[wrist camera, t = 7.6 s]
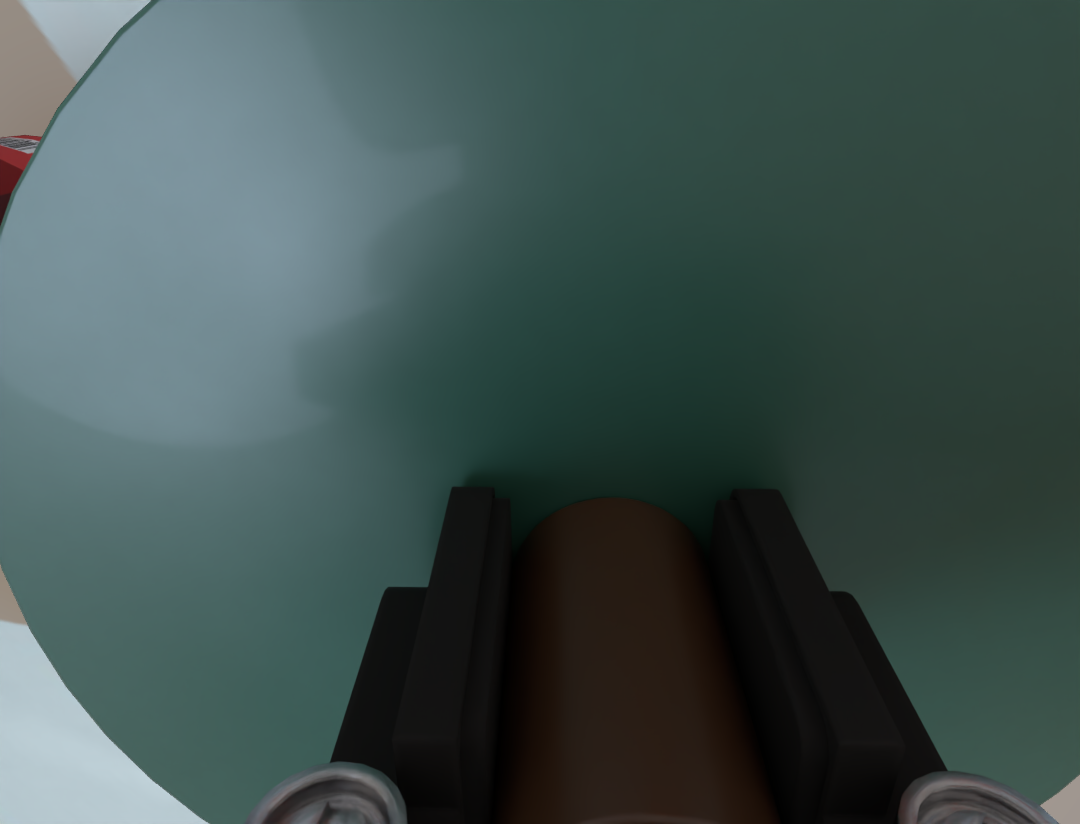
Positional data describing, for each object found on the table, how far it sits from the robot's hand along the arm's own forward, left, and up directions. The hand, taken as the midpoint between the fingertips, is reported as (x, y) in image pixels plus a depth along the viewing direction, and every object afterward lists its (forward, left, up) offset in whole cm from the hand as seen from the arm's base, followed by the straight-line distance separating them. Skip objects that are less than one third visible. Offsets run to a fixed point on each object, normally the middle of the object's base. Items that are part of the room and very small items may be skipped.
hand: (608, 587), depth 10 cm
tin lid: (0, 0, -1) cm, 1 cm away
